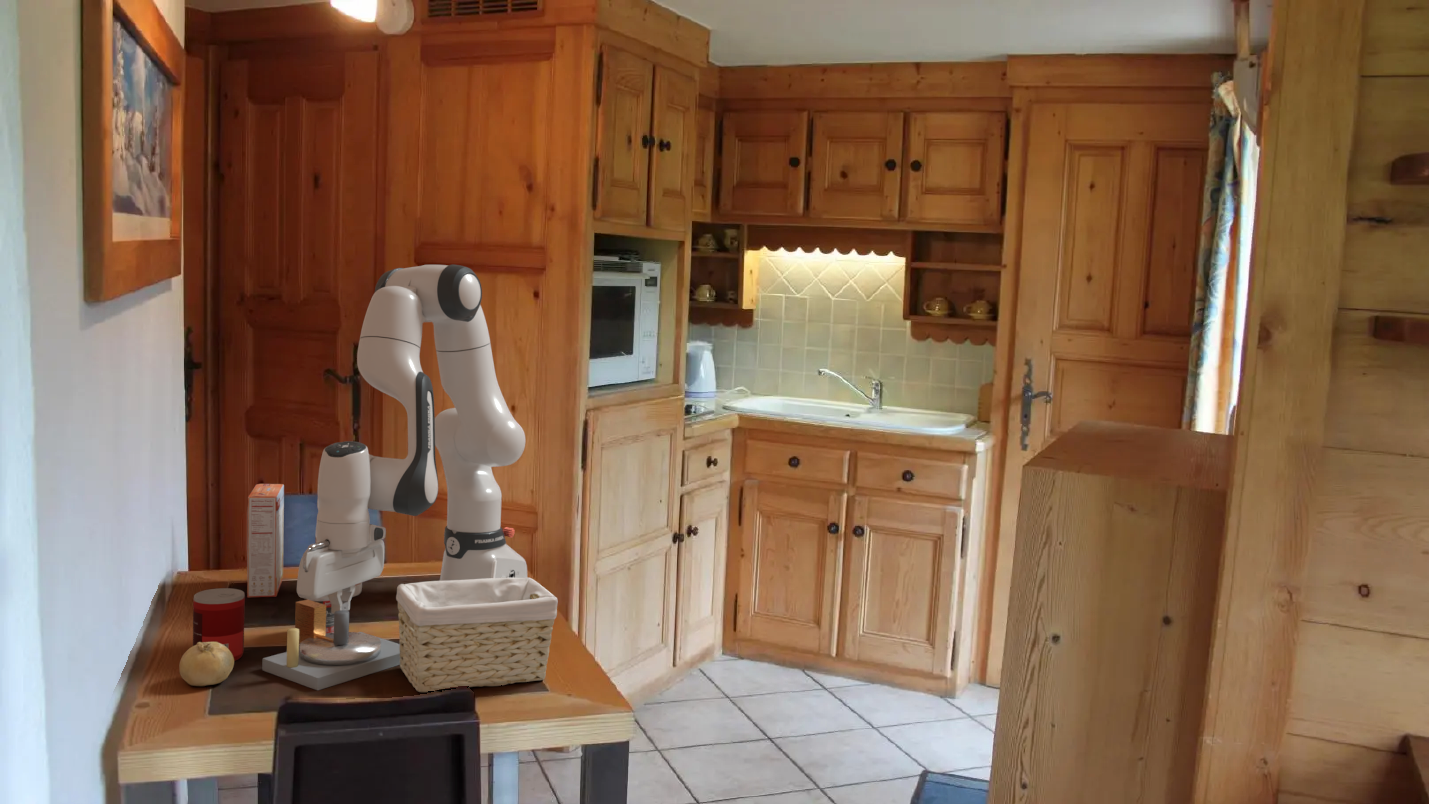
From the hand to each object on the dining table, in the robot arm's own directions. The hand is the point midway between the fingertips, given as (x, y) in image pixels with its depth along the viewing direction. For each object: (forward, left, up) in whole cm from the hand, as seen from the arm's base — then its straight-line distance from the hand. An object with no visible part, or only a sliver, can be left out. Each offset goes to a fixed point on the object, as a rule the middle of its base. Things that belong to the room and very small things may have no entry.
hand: (340, 612), depth 199 cm
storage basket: (-5, +28, -6) cm, 29 cm away
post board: (+6, +8, -6) cm, 12 cm away
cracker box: (-14, -40, -6) cm, 43 cm away
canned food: (+17, -9, -6) cm, 21 cm away
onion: (+25, 0, -6) cm, 26 cm away
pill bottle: (-3, -8, -6) cm, 11 cm away
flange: (+6, +6, -4) cm, 10 cm away
